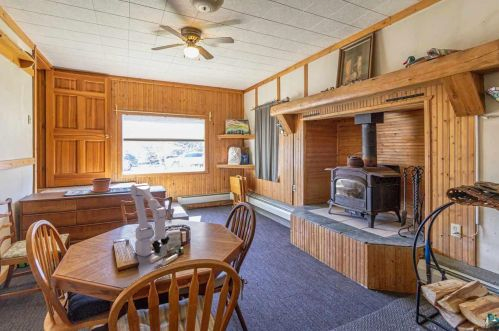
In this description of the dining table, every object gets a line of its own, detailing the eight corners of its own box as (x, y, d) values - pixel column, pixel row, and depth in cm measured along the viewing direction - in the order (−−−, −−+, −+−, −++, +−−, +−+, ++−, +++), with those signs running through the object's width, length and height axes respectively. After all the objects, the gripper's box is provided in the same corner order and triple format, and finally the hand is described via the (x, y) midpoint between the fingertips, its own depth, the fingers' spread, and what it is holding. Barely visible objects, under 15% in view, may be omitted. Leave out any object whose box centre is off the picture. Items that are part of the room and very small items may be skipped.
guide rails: (150, 262, 152) (150, 259, 152) (164, 254, 163) (164, 251, 163) (163, 265, 148) (163, 262, 148) (177, 257, 159) (177, 254, 159)
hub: (154, 255, 151) (154, 244, 150) (160, 251, 155) (160, 241, 155) (160, 256, 149) (160, 246, 148) (167, 253, 153) (166, 243, 153)
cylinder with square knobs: (167, 255, 162) (167, 248, 162) (176, 250, 169) (176, 243, 169) (175, 256, 160) (174, 249, 159) (183, 251, 167) (183, 245, 167)
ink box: (179, 245, 177) (179, 228, 176) (181, 248, 172) (180, 231, 171) (166, 248, 173) (166, 230, 172) (167, 250, 168) (167, 233, 167)
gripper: (156, 233, 143) (156, 257, 144) (173, 226, 156) (174, 248, 157) (146, 231, 146) (147, 255, 147) (164, 224, 159) (165, 246, 160)
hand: (160, 251), depth 152 cm, fingers closed on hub, 5 cm apart
